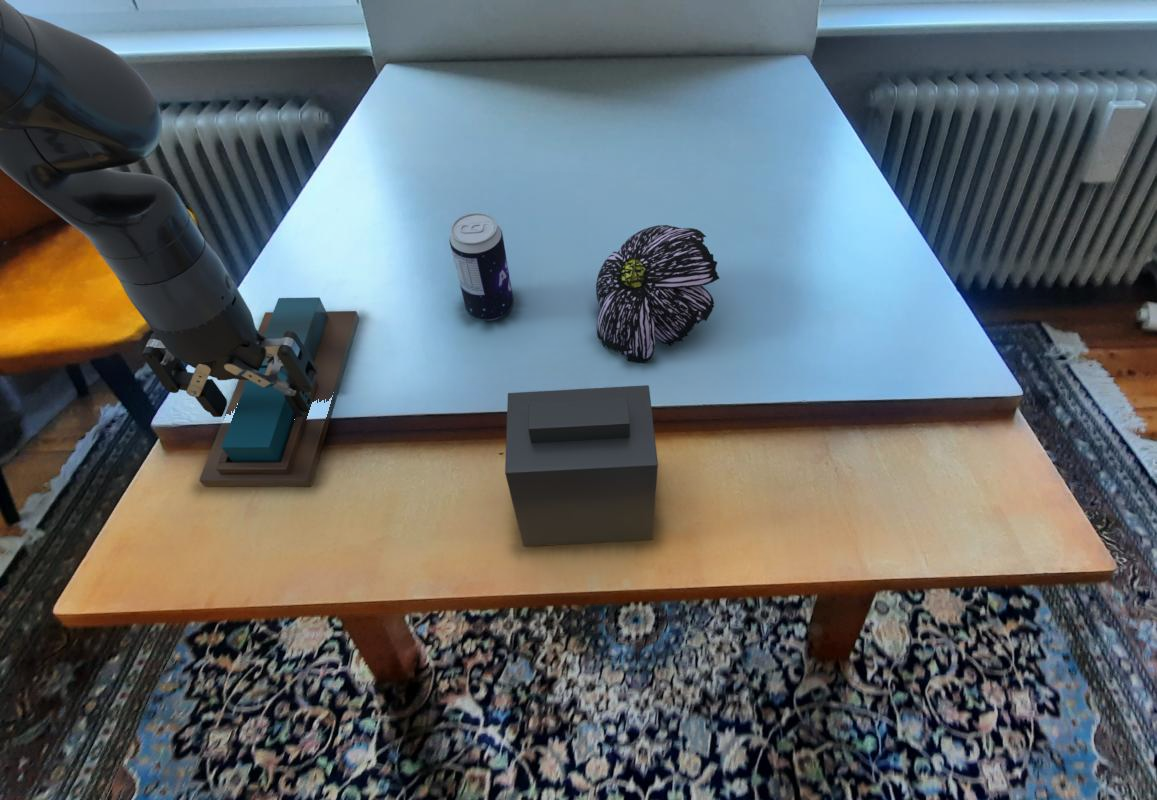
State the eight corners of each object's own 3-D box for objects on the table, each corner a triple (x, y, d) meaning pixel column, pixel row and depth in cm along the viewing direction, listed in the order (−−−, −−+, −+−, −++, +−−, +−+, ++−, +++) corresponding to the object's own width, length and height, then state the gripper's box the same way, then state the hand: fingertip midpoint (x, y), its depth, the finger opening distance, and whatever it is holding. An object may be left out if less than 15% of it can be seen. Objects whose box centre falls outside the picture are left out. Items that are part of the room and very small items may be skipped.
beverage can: (512, 324, 85) (498, 244, 75) (464, 325, 85) (443, 246, 75) (515, 290, 88) (502, 209, 79) (469, 291, 88) (450, 211, 79)
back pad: (281, 464, 73) (269, 447, 71) (234, 465, 73) (220, 447, 71) (306, 386, 79) (296, 367, 77) (263, 386, 79) (251, 367, 77)
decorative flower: (554, 236, 79) (685, 179, 77) (581, 282, 90) (696, 234, 88) (595, 353, 74) (737, 296, 72) (619, 387, 85) (742, 338, 83)
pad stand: (523, 546, 68) (501, 459, 56) (524, 472, 73) (504, 377, 61) (652, 540, 67) (659, 451, 56) (645, 466, 72) (649, 369, 60)
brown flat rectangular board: (311, 486, 73) (295, 462, 69) (204, 486, 73) (183, 463, 70) (359, 317, 87) (348, 290, 83) (268, 319, 87) (254, 292, 84)
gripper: (85, 329, 60) (181, 441, 72) (256, 327, 59) (322, 440, 72) (123, 266, 64) (207, 381, 77) (281, 263, 63) (339, 380, 76)
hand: (262, 410), depth 74 cm, fingers open, 8 cm apart
